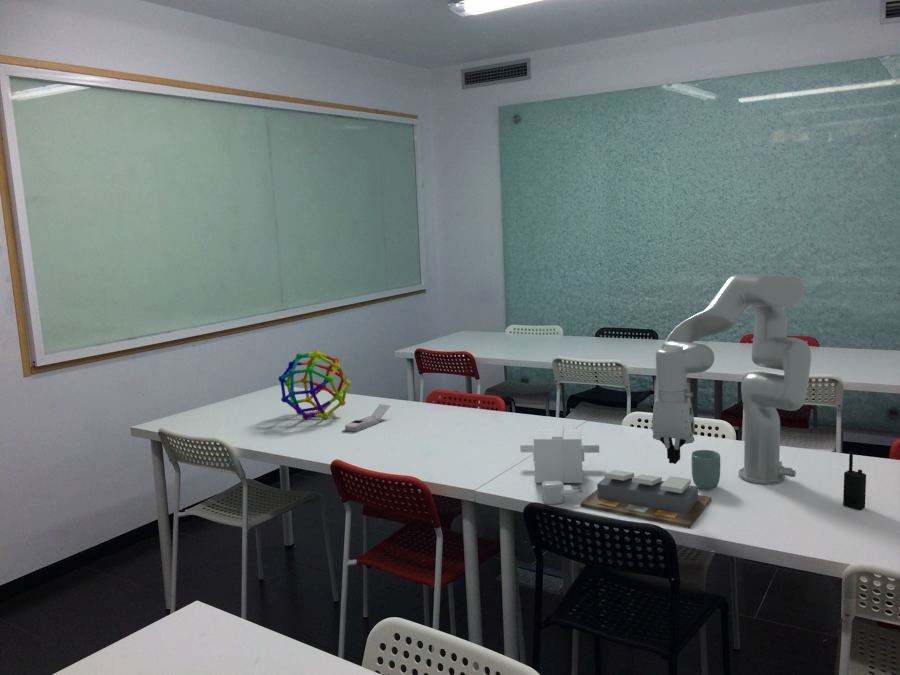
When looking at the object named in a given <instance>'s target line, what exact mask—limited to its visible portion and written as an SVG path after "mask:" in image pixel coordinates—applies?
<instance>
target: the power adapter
mask: <svg viewBox="0 0 900 675" xmlns="http://www.w3.org/2000/svg"><path fill="white" fill-rule="evenodd" d="M576 493H578V494H579V493H584V490H583V489H582V486H572V485H571V484H564V485H563V484H562V482H561V481H544V482H542V483H541V497H542V498H541V499H542V501H543V503H544V505H560V504H561V503H562V504H564V501H565V496H574V494H576Z"/></svg>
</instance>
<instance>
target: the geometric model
mask: <svg viewBox="0 0 900 675" xmlns="http://www.w3.org/2000/svg"><path fill="white" fill-rule="evenodd" d="M304 358H309V359H308V360H307V361H301V362H300V360H302V359H304ZM319 360H322V361H324V362H325V363H327V364H329V365H323V364H321V363H318V361H319ZM339 362H340V359H339V358H338V357H333V356H331V355H327V354H325V353H323V352H321V351H320V350H319V349H314V351H310V352H307V353H297V354H296V355H295V358H294V359H293V360H292V361H289V362H288V367H286V369H285V371H284V372H283V373H282V375H280V376H278V381H279V382H280V388H281V394H282V395H281V399H280V400H281V402H282V403H285V404H287V405H289V406H290V407H291V408H293V409H294V410H295V412H296V415H301V416H302V418H303V420H308V419H309V418H311V419H312V418H313V419H314V418H323V419H325V420H326V419H329V416H330V415H331V414H332V413H333V412H335V411H336V410H338V408H340V407H341V406H342V407H343V406H345V405H346V401H345V400H346V395H347V392H348V388H349V387H350V386H351V381H350V380H349V379H348V378H347V376H346V375H345V374H344V372H343V370H342V367H341V365H340V363H339ZM305 365H307V366H306V368H304V369H296V368H297V367H298V366H305ZM315 367H317V368H321V369H323V370H326V373H325V374H324V373H321V372H320V371H317V370H315V369H314V368H315ZM330 372H331V373H330ZM302 373H304V375H303V377H302V378H301V379H295V380H294V376H295V374H302ZM313 374H314V375H316V376H318V377H320V378H323V381H322V382H321V383H318V382H315V381H314V379H313ZM335 376H337V377H339V378H340V382H339V385H338V388H337V387H336V385H335V382H334V377H335ZM308 377H309V379H308ZM299 383H302V384H303V388H304V390H298V391H295V389H294V388H295V384H299ZM329 383H330V386H331V387H332V390H333V391H332V390H331V389H330V388H328V387H327V385H328V384H329ZM308 384H309V389H308ZM343 384H344V385H343ZM285 386H286V387H287V388H286V387H285ZM285 388H286V389H287V390H288V391H287V392H288V393H287V395H286V389H285ZM324 390H325V391H326V392H327V393H328V394H330V395H331V396H332V398H330V399H329V400H327V401H326V402H324V403H323V404H320V401H319V399H318V397H317V395H318V394H319V393H320V392H321V391H324ZM297 395H305V398H303V399H297V398H296V396H297ZM312 399H313V400H314V401H313V400H312ZM335 401H338V404H336V405H335V406H334V407H332V408H331V409H329V411H327V412H326V410H327V409H328V407H329V406H330V405H331V404H333V403H334V402H335ZM305 402H306V403H309V404H310V405H311V406H313V407H307V408H301V406H300V405H299V404H301V403H305ZM311 411H312V412H311ZM307 412H310V413H307Z"/></svg>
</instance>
